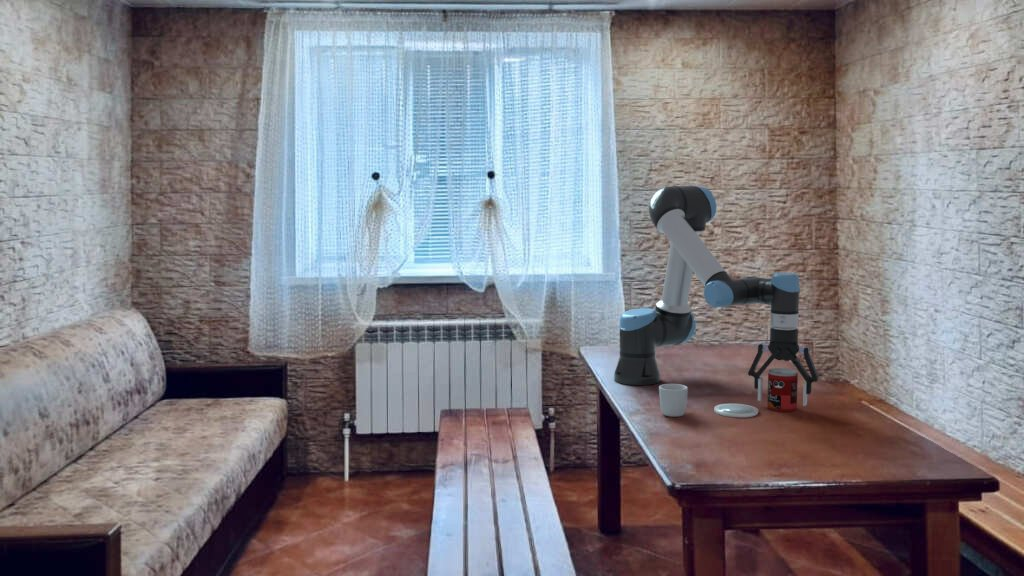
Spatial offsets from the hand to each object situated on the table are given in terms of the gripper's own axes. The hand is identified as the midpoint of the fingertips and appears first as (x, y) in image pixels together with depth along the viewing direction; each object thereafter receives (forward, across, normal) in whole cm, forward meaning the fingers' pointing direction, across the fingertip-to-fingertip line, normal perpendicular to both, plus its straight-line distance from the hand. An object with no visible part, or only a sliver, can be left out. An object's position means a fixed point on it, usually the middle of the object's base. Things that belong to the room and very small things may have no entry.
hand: (782, 402), depth 235 cm
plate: (+2, -11, -9) cm, 14 cm away
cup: (+2, -26, -18) cm, 32 cm away
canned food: (+2, 0, 0) cm, 2 cm away
